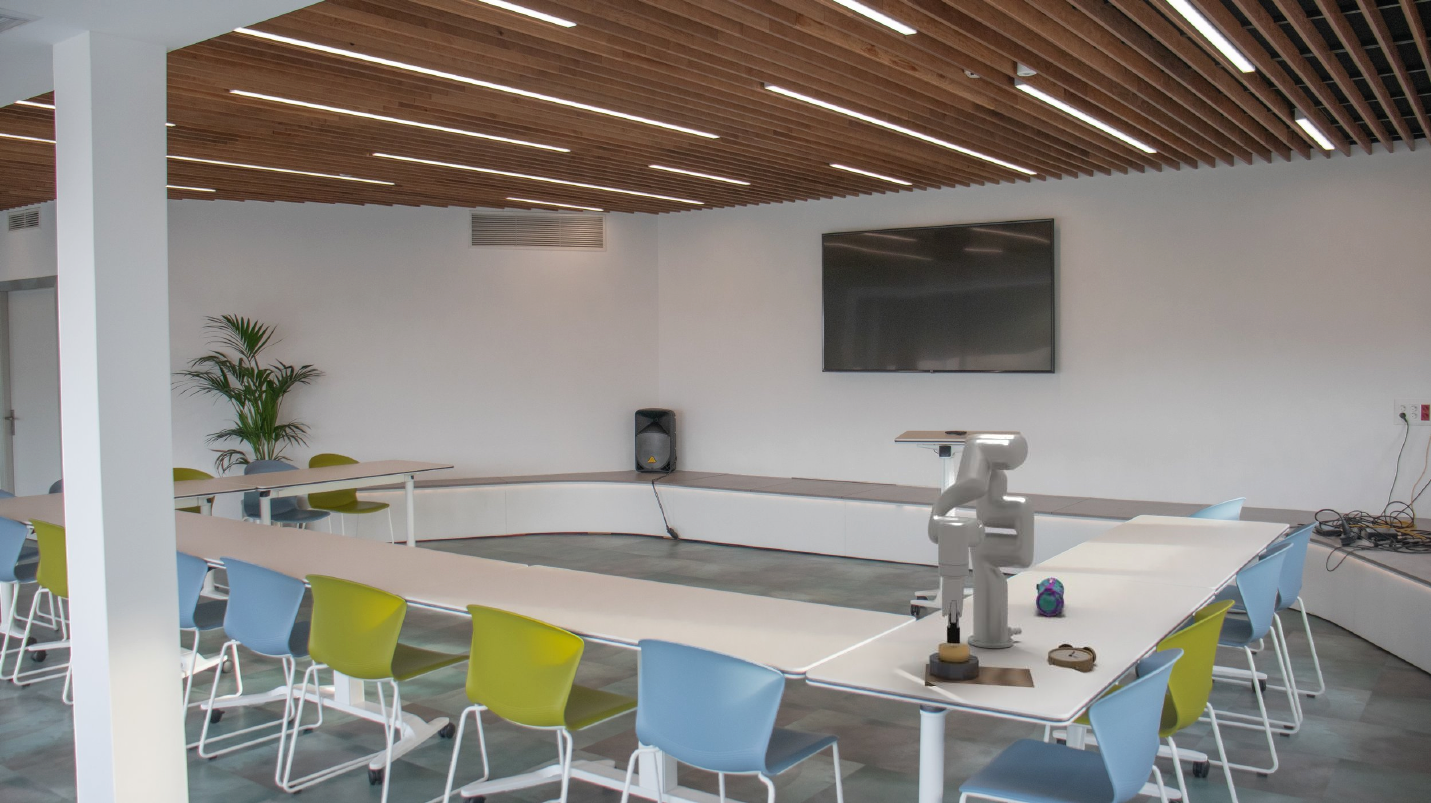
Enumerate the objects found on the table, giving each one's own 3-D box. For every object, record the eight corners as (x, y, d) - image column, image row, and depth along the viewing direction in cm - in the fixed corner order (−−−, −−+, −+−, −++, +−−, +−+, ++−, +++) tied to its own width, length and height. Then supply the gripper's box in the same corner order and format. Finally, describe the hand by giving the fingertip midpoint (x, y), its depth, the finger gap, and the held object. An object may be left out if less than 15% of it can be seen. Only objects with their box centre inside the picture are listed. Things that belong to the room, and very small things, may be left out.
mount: (1029, 673, 267) (1029, 668, 267) (1034, 692, 251) (1034, 687, 251) (926, 668, 273) (926, 663, 273) (924, 685, 257) (924, 681, 257)
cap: (957, 668, 268) (957, 641, 268) (975, 675, 261) (975, 648, 261) (932, 671, 265) (932, 644, 265) (950, 679, 258) (949, 651, 258)
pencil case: (1036, 603, 350) (1036, 574, 350) (1064, 604, 347) (1064, 575, 347) (1035, 616, 330) (1035, 586, 330) (1064, 618, 327) (1064, 588, 327)
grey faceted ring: (959, 664, 271) (959, 649, 271) (988, 677, 260) (988, 661, 260) (920, 670, 267) (920, 654, 266) (947, 682, 255) (947, 666, 255)
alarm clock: (1041, 657, 272) (1060, 636, 284) (1042, 675, 273) (1061, 653, 284) (1084, 664, 265) (1102, 642, 277) (1085, 682, 266) (1103, 659, 278)
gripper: (938, 564, 271) (938, 635, 271) (937, 574, 256) (937, 649, 256) (968, 565, 269) (968, 636, 269) (969, 576, 255) (969, 650, 255)
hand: (953, 642), depth 263 cm, fingers closed
